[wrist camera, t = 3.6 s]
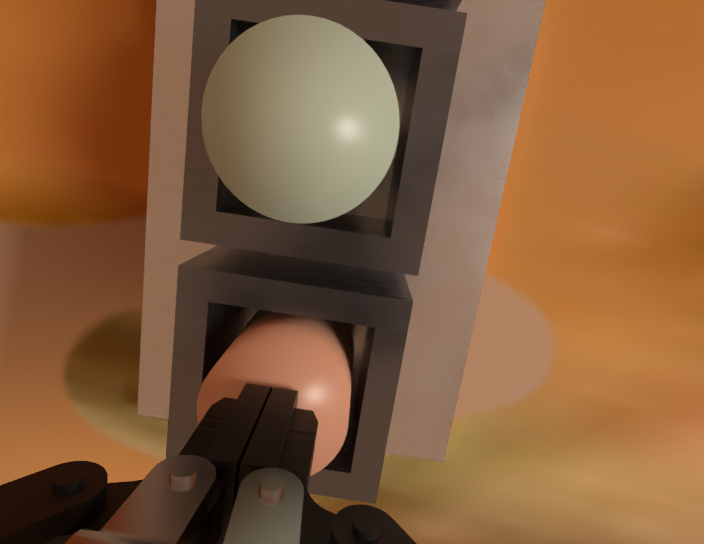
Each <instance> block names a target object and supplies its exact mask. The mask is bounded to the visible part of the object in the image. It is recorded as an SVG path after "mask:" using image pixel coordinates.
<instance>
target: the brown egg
mask: <svg viewBox="0 0 704 544" xmlns="http://www.w3.org/2000/svg"><path fill="white" fill-rule="evenodd" d="M353 361H354V342H353V337H352V334H351V331H350V329H349V327H348V325H347V323H343V322H337V321H330V320H324V319H317V318H311V317H304V316H298V315H291V314H285V313H278V312H272V311H265V310H258V311H257V312H256V313H255V314H254V316H253V317H252V318H251V319H250V321H249V322H248V323H247V325H246V326H245V327H244V328H243V330H242V331H241V332H240V334H239V335H238V336H237V337H236V339H235V340H234V341H233V342H232V344H231V345H230V346H229V348H228V349H227V350H226V351H225V353H224V354H223V355H222V357H221V358H220V359H219V360H218V362H217V363H216V364H215V366H214V367H213V368H212V369H211V371H210V372H209V374H208V375H207V376H206V378H205V380H204V382H203V384H202V386H201V388H200V391H199V395H198V400H197V420H198V425H199V423H200V422H201V420H202V418H204V415H205V414H206V412H207V411H208V409H209V408H210V406H211V405H213V404H214V403H216V402H217V401H219V400H221V399H222V398H224V397H226V398H233V399H237V398H238V397H239V395H240V393H241V391H242V390H243V388H244V386H245V384H246V383H251V384H258V385H264V386H271V387H272V389H273V387H278V388H284V389H291V390H297V391H298V401H297V408H299V409H305V410H312V411H313V412H314V414H315V416H316V418H317V420H318V428H317V435H316V442H315V448H314V455H313V462H312V468H311V474H310V476H312V475H314V474H315V473H317V472H319V471H320V470H322V469H323V468H325V467H326V466H327V465H328V464H329V463H330V462H331V461H332V460H333V459H334V458H335V456H336V455H337V454H338V452H339V451H340V449H341V447H342V445H343V443H344V441H345V438H346V435H347V430H348V423H349V411H350V398H351V386H352V373H353Z"/></svg>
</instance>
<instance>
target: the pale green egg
mask: <svg viewBox="0 0 704 544" xmlns="http://www.w3.org/2000/svg"><path fill="white" fill-rule="evenodd" d="M201 124H202V132H203V138H204V143H205V147H206V150H207V153H208V156H209V158H210V161H211V163H212V165H213V167H214V169H215V171H216V173H217V174H218V176H219V177H220V179H221V180H222V182H223V183H224V185H225V186H226V187H227V188H228V189H229V190H230V191H231V192H232V194H233V195H235V196H236V197H237V198H238V199H239V200H240V201H241V202H242V203H244V204H245V205H247V206H248V207H250V208H251V209H253V210H254V211H256V212H258V213H260V214H262V215H264V216H267V217H270V218H273V219H275V220H279V221H284V222H289V223H300V224H302V223H316V222H321V221H326V220H329V219H332V218H336V217H338V216H340V215H342V214H344V213H347V212H349V211H350V210H352V209H353V208H355V207H356V206H358V205H359V204H360V203H362V202H363V201H364V200H365V199H366V198H368V197H369V196H370V194H371V193H372V192H373V191H374V190H375V189H376V188H377V187H378V185H379V184H380V182H381V181H382V179H383V178H384V177H385V175H386V173H387V171H388V169H389V167H390V165H391V162H392V160H393V157H394V154H395V151H396V147H397V142H398V136H399V126H400V123H399V107H398V100H397V96H396V92H395V89H394V85H393V83H392V80H391V78H390V76H389V73H388V71H387V69H386V68H385V66H384V64H383V63H382V61H381V59H380V58H379V57H378V56H377V54H376V53H375V52H374V50H373V49H372V48H371V47H370V46H369V45H368V44H367V43H366V42H365V41H364V40H363V39H362V38H360V37H359V36H358V35H356V34H355V33H354V32H352V31H351V30H349V29H347V28H346V27H344V26H342V25H340V24H338V23H336V22H333V21H330V20H328V19H325V18H320V17H316V16H309V15H286V16H281V17H276V18H272V19H269V20H266V21H264V22H261V23H259V24H257V25H255V26H253V27H251V28H249V29H248V30H246V31H245V32H244V33H242V34H241V35H240V36H238V37H237V38H236V39H235V40H234V41H233V42H232V43H231V44H230V45H229V46H228V47H227V48H226V49H225V50H224V52H223V53H222V54H221V56H220V57H219V58H218V60H217V62H216V64H215V65H214V67H213V69H212V71H211V73H210V76H209V78H208V81H207V84H206V87H205V91H204V95H203V102H202V109H201Z"/></svg>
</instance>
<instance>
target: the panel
mask: <svg viewBox="0 0 704 544" xmlns="http://www.w3.org/2000/svg"><path fill="white" fill-rule="evenodd" d="M545 2H546V0H156V21H155V43H154V64H153V86H152V108H151V129H150V151H149V172H148V194H147V215H146V238H145V259H144V281H143V303H142V323H141V345H140V366H139V388H138V409H137V415H143V416H149V417H156V418H162V419H168V434H167V449H166V459H168V458H171V457H174V456H178V455H179V453H180V452H181V450H182V449H183V447H184V446H185V444H186V443H187V441H188V440H189V438H190V437H191V435H192V434H193V432H194V431H195V429H196V428H197V427H198V420H197V400H198V395H199V391H200V388H201V386H202V384H203V382H204V380H205V378H206V376H207V375H208V374H209V372H210V371H211V369H212V368H213V367H214V366H215V364H216V363H217V362H218V360H219V359H220V358H221V357H222V355H223V354H224V353H225V351H226V350H227V349H228V348H229V346H230V345H231V344H232V342H233V341H234V340H235V339H236V337H237V336H238V335H239V334H240V332H241V331H242V330H243V328H244V327H245V326H246V325H247V323H248V322H249V321H250V319H251V318H252V317H253V316H254V314H255V313H256V312H257V311H258V310H265V311H272V312H278V313H285V314H291V315H298V316H304V317H311V318H317V319H324V320H330V321H337V322H343V323H347V325H348V327H349V329H350V331H351V334H352V337H353V342H354V361H353V373H352V386H351V398H350V411H349V423H348V430H347V435H346V438H345V441H344V443H343V445H342V447H341V449H340V451H339V452H338V454H337V455H336V456H335V458H334V459H333V460H332V461H331V462H330V463H329V464H328V465H327V466H326V467H325V468H323V469H322V470H320V471H319V472H317V473H315V474H314V475H312V476H310V479H309V485H308V493H311V494H317V495H324V496H330V497H337V498H343V499H349V500H356V501H362V502H369V503H376V498H377V493H378V487H379V482H380V477H381V471H382V466H383V461H384V455H385V453H389V454H395V455H402V456H408V457H415V458H421V459H428V460H434V461H441V462H444V457H445V453H446V448H447V444H448V439H449V435H450V430H451V425H452V421H453V416H454V412H455V407H456V403H457V398H458V394H459V389H460V384H461V380H462V376H463V371H464V367H465V362H466V358H467V353H468V349H469V344H470V340H471V335H472V331H473V326H474V322H475V317H476V312H477V308H478V304H479V299H480V295H481V290H482V286H483V281H484V277H485V272H486V268H487V263H488V259H489V254H490V250H491V245H492V241H493V236H494V232H495V227H496V223H497V218H498V214H499V209H500V205H501V200H502V196H503V191H504V187H505V182H506V178H507V173H508V169H509V164H510V160H511V155H512V150H513V146H514V141H515V137H516V132H517V128H518V123H519V119H520V114H521V110H522V105H523V101H524V96H525V92H526V87H527V83H528V78H529V74H530V69H531V65H532V60H533V56H534V51H535V47H536V42H537V38H538V33H539V29H540V24H541V20H542V15H543V11H544V6H545ZM286 15H309V16H316V17H320V18H325V19H328V20H330V21H333V22H336V23H338V24H340V25H342V26H344V27H346V28H347V29H349V30H351V31H352V32H354V33H355V34H356V35H358V36H359V37H360V38H362V39H363V40H364V41H365V42H366V43H367V44H368V45H369V46H370V47H371V48H372V49H373V50H374V52H375V53H376V54H377V56H378V57H379V58H380V59H381V61H382V63H383V64H384V66H385V68H386V69H387V71H388V73H389V76H390V78H391V80H392V83H393V85H394V89H395V92H396V96H397V100H398V107H399V123H400V126H399V136H398V142H397V147H396V151H395V154H394V157H393V160H392V162H391V165H390V167H389V169H388V171H387V173H386V175H385V177H384V178H383V179H382V181H381V182H380V184H379V185H378V187H377V188H376V189H375V190H374V191H373V192H372V193H371V194H370V196H369V197H368V198H366V199H365V200H364V201H363V202H362V203H360V204H359V205H358V206H356V207H355V208H353V209H352V210H350V211H349V212H347V213H344V214H342V215H340V216H338V217H336V218H332V219H329V220H326V221H321V222H316V223H302V224H300V223H289V222H284V221H279V220H275V219H273V218H270V217H267V216H264V215H262V214H260V213H258V212H256V211H254V210H253V209H251V208H250V207H248V206H247V205H245V204H244V203H242V202H241V201H240V200H239V199H238V198H237V197H236V196H235V195H233V194H232V192H231V191H230V190H229V189H228V188H227V187H226V186H225V185H224V183H223V182H222V180H221V179H220V177H219V176H218V174H217V173H216V171H215V169H214V167H213V165H212V163H211V161H210V158H209V156H208V153H207V150H206V147H205V143H204V138H203V132H202V124H201V109H202V102H203V95H204V91H205V87H206V84H207V81H208V78H209V76H210V73H211V71H212V69H213V67H214V65H215V64H216V62H217V60H218V58H219V57H220V56H221V54H222V53H223V52H224V50H225V49H226V48H227V47H228V46H229V45H230V44H231V43H232V42H233V41H234V40H235V39H236V38H237V37H238V36H240V35H241V34H242V33H244V32H245V31H246V30H248V29H249V28H251V27H253V26H255V25H257V24H259V23H261V22H264V21H266V20H269V19H272V18H276V17H281V16H286Z"/></svg>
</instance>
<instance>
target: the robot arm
mask: <svg viewBox="0 0 704 544" xmlns="http://www.w3.org/2000/svg"><path fill="white" fill-rule="evenodd" d="M297 401H298V391H297V390H291V389H284V388H278V387H273V389H272V387H271V386H264V385H258V384H251V383H246V384H245V386H244V388H243V390H242V391H241V393H240V395H239V397H238V398H237V399H233V398H226V397H224V398H222V399H221V400H219V401H217V402H216V403H214V404H213V405H211V406H210V408H209V409H208V411H207V412H206V414H205V415H204V418H202V420H201V422H200V423H199V425H198V427H197V428H196V429H195V431H194V432H193V434H192V435H191V437H190V438H189V440H188V441H187V443H186V444H185V446H184V447H183V449H182V450H181V452H180V453H179V455H178V456H174V457H171V458H168V459H165V460H163V461H162V462H160V463H158V464H157V465H156V466H155V467H154V468H153V469H152V470H151V471H150V472H149V474H148V475H147V476H146V477H145V478H144V479H143V480H138V481H131V482H117V483H107V472H106V470H105V469H104V468H103V467H102V466H100V465H99V464H96V463H93V462H88V461H73V462H67V463H63V464H59V465H56V466H53V467H50V468H48V469H45V470H42V471H39V472H36V473H34V474H31V475H28V476H25V477H22V478H20V479H17V480H14V481H11V482H8V483H6V484H3V485H1V486H0V544H416V543H415V542H414V541H413V540H412V539H411V538H410V536H409V535H408V534H407V533H406V532H405V531H404V530H403V529H402V528H401V527H400V526H399V525H398V524H397V523H396V522H395V521H394V520H393V519H392V518H391V517H390V516H389V515H388V514H387V513H385V512H384V511H382V510H380V509H378V508H375V507H372V506H368V505H351V506H348V507H346V508H344V509H342V510H341V511H339V512H338V513H337V514H334V513H331V512H329V511H327V510H325V509H323V508H322V507H320V506H319V505H318V504H316V503H315V502H314V501H313V499H312V498H311V497H310V495H309V493H308V485H309V479H310V474H311V468H312V462H313V455H314V448H315V442H316V435H317V428H318V420H317V418H316V416H315V414H314V412H313V411H312V410H305V409H299V408H297Z"/></svg>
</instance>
